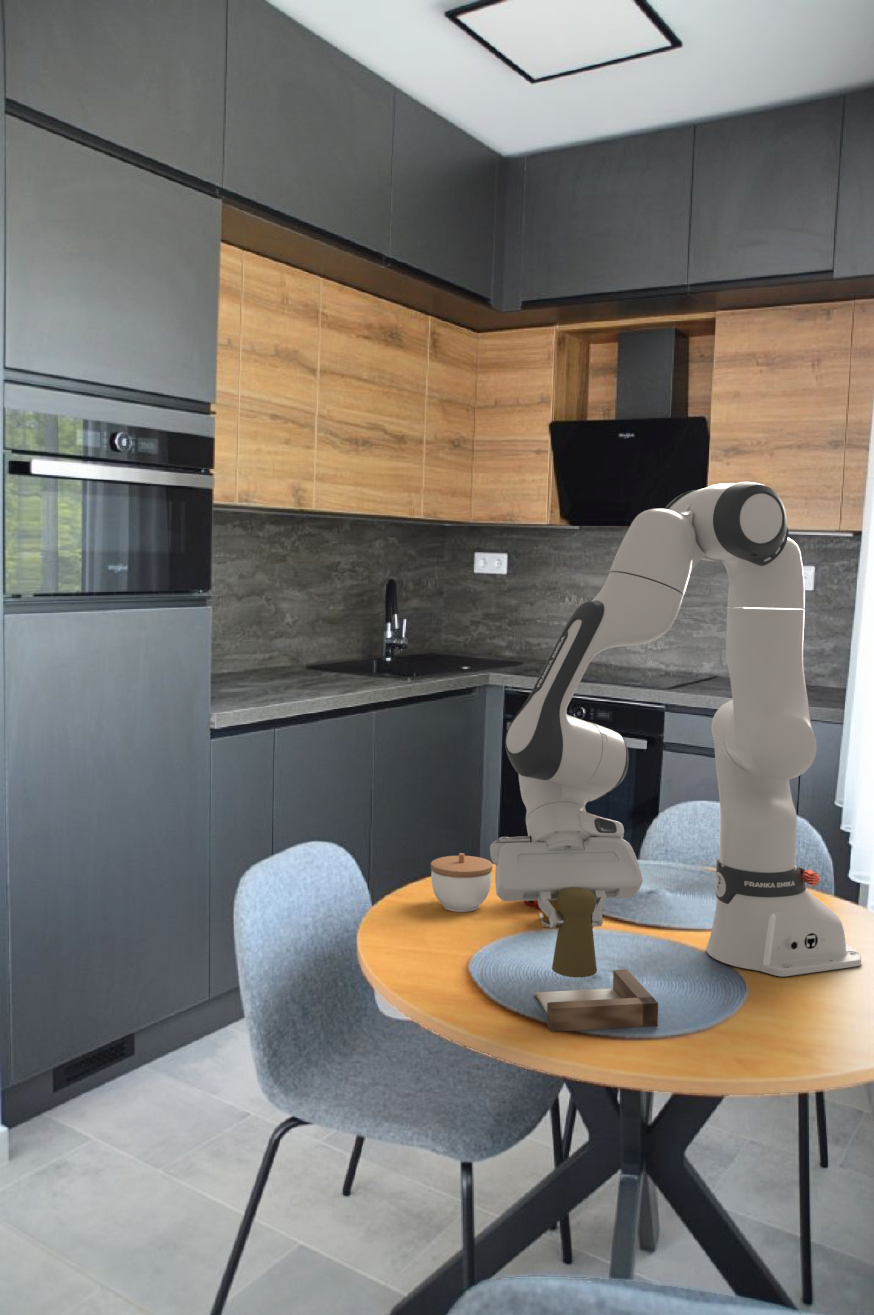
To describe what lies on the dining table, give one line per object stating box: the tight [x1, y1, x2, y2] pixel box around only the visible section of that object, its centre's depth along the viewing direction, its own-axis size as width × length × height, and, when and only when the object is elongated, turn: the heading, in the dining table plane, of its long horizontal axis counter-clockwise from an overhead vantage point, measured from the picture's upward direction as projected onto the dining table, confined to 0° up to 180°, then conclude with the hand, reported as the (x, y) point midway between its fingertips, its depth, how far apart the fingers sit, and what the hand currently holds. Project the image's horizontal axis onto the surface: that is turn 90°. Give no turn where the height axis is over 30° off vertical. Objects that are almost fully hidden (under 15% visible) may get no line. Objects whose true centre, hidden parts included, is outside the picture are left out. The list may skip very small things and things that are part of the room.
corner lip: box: [535, 968, 659, 1033], centre depth 141 cm, size 14×12×3 cm
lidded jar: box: [430, 852, 493, 913], centre depth 186 cm, size 11×11×9 cm
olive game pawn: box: [551, 887, 598, 978], centre depth 144 cm, size 6×6×11 cm
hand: (577, 925), depth 143 cm, fingers closed on olive game pawn, 4 cm apart
